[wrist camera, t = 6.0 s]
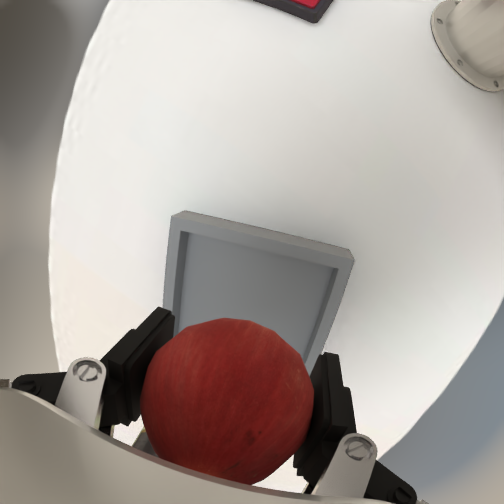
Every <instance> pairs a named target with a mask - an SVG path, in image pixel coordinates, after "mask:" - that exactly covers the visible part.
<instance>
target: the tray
mask: <svg viewBox="0 0 504 504" xmlns="http://www.w3.org/2000/svg"><path fill="white" fill-rule="evenodd" d="M353 263H354V258H353V256H352V254H351V252H350V250H349V249H345V248H341V247H337V246H333V245H329V244H325V243H321V242H317V241H313V240H309V239H305V238H301V237H297V236H293V235H289V234H285V233H281V232H276V231H272V230H268V229H264V228H260V227H255V226H251V225H247V224H242V223H238V222H234V221H229V220H225V219H221V218H216V217H212V216H207V215H203V214H198V213H194V212H189V211H182V212H180V213H178V214H175V215H173V216H171V222H170V230H169V239H168V248H167V258H166V269H165V281H164V295H163V308H164V309H167V310H171V312H172V315H174V316H175V324H174V335H173V337H175V336H176V335H177V334H178V333H179V332H181V331H182V330H183V329H184V328H186V327H188V326H192V325H195V324H199V323H203V322H207V321H211V320H215V319H219V318H232V319H242V320H251V321H253V322H255V323H257V324H260V325H262V326H264V327H266V328H269V329H271V330H273V331H275V332H276V333H277V334H278V335H279V336H280V337H281V338H282V339H283V340H285V341H286V342H287V343H288V344H289V345H290V346H291V347H293V348H294V349H295V350H296V351H297V352H298V353H299V354H300V355H301V357H302V360H303V362H304V365H305V367H306V370H307V372H308V374H309V376H310V374H311V372H312V370H313V367H314V365H315V363H316V360H317V358H318V356H319V355H320V354H321V352H322V349H323V347H324V344H325V342H326V339H327V337H328V334H329V332H330V329H331V326H332V324H333V321H334V319H335V316H336V313H337V310H338V308H339V305H340V302H341V299H342V296H343V293H344V291H345V288H346V285H347V282H348V279H349V276H350V273H351V269H352V266H353Z"/></svg>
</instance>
